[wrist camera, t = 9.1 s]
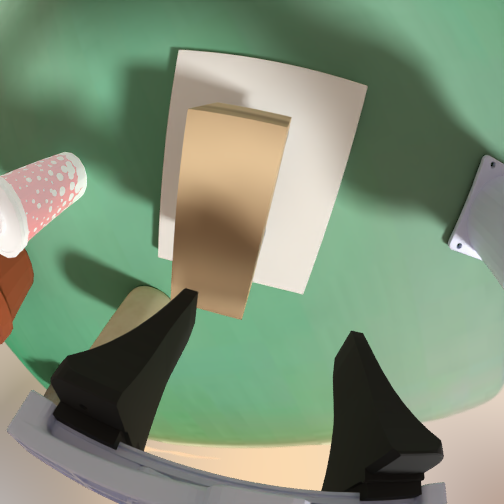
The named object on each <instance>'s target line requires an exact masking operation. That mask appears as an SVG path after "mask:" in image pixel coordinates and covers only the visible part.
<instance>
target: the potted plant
mask: <svg viewBox="0 0 504 504" xmlns="http://www.w3.org/2000/svg"><path fill="white" fill-rule="evenodd" d="M33 278H34V273H33V269H32V264H31V261H30V259H29V256H28V254H27V252H26V250H25V248H24V249H23V250H22V251H21V252H20V253H19V254H18V255H17V256H16V257H12V258H7V257H5V256H3V255H1V254H0V344H2V343H3V342H4V341H5V340H6V338H7V337H8V336H9V335H10V334H11V331H12V329H13V324H12V322H13V320H14V318H15V316H16V314H17V312H18V310H19V308H20V306H21V304H22V302H23V300H24V298H25V297H26V295H27V293H28V291H29V289H30V287H31V286H32V284H33Z"/></svg>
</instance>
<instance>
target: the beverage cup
mask: <svg viewBox="0 0 504 504" xmlns="http://www.w3.org/2000/svg"><path fill="white" fill-rule="evenodd" d="M86 187H87V175H86V171H85V168H84V165H83V164H82V162H81V161H80V159H79V158H78V157H76V156H75V155H74V154H72V153H69V152H63V153H60V154H57V155H54V156H51V157H48V158H45V159H42V160H40V161H37V162H34V163H31V164H29V165H26V166H24V167H21V168H18V169H16V170H13V171H11V172H9V173H6V174H4V175H1V176H0V254H1V255H3V256H5V257H7V258H12V257H16V256H17V255H18V254H19V253H20V252H21V251H22V250H23V249H24V248H25V247H26V245H27V242H28V241H29V240H30V239H31V238H32V237H33V236H34V235H36V234H37V233H38V232H39V231H40V230H41V229H42V228H44V227H45V226H46V225H47V224H48V223H49V222H51V221H52V220H53V219H54V218H55V217H57V216H58V215H59V214H60V213H61V212H63V211H64V210H65V209H66V208H68V207H69V206H70V205H71V204H73V203H74V202H75V201H76V200H78V199H79V198H80V197H81V196H82V195H83V194H84V192H85V189H86Z"/></svg>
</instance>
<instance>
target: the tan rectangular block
mask: <svg viewBox="0 0 504 504" xmlns="http://www.w3.org/2000/svg"><path fill="white" fill-rule="evenodd" d="M291 118H292V117H289V116H285V115H281V114H276V113H272V112H267V111H262V110H257V109H252V108H247V107H242V106H236V105H231V104H225V103H219V102H217V103H212V104H207V105H202V106H198V107H193V108H189V109H188V111H187V118H186V125H185V133H184V140H183V148H182V156H181V165H180V174H179V183H178V194H177V205H176V216H175V229H174V244H173V260H172V281H171V300H172V299H174V298H175V297H176V296H177V295H178V294H179V293H180V292H181V291H182V290H183V289H185V288H187V289H191V290H194V291H198V300H197V308H200V309H203V310H207V311H211V312H214V313H218V314H222V315H225V316H229V317H233V318H237V319H241V320H242V317H243V313H244V310H245V306H246V302H247V299H248V295H249V292H250V288H251V284H252V281H253V277H254V273H255V269H256V265H257V261H258V257H259V253H260V249H261V245H262V240H263V236H264V232H265V228H266V224H267V220H268V216H269V211H270V207H271V203H272V199H273V195H274V190H275V186H276V182H277V178H278V174H279V169H280V165H281V161H282V157H283V152H284V148H285V144H286V140H287V135H288V131H289V127H290V123H291Z"/></svg>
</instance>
